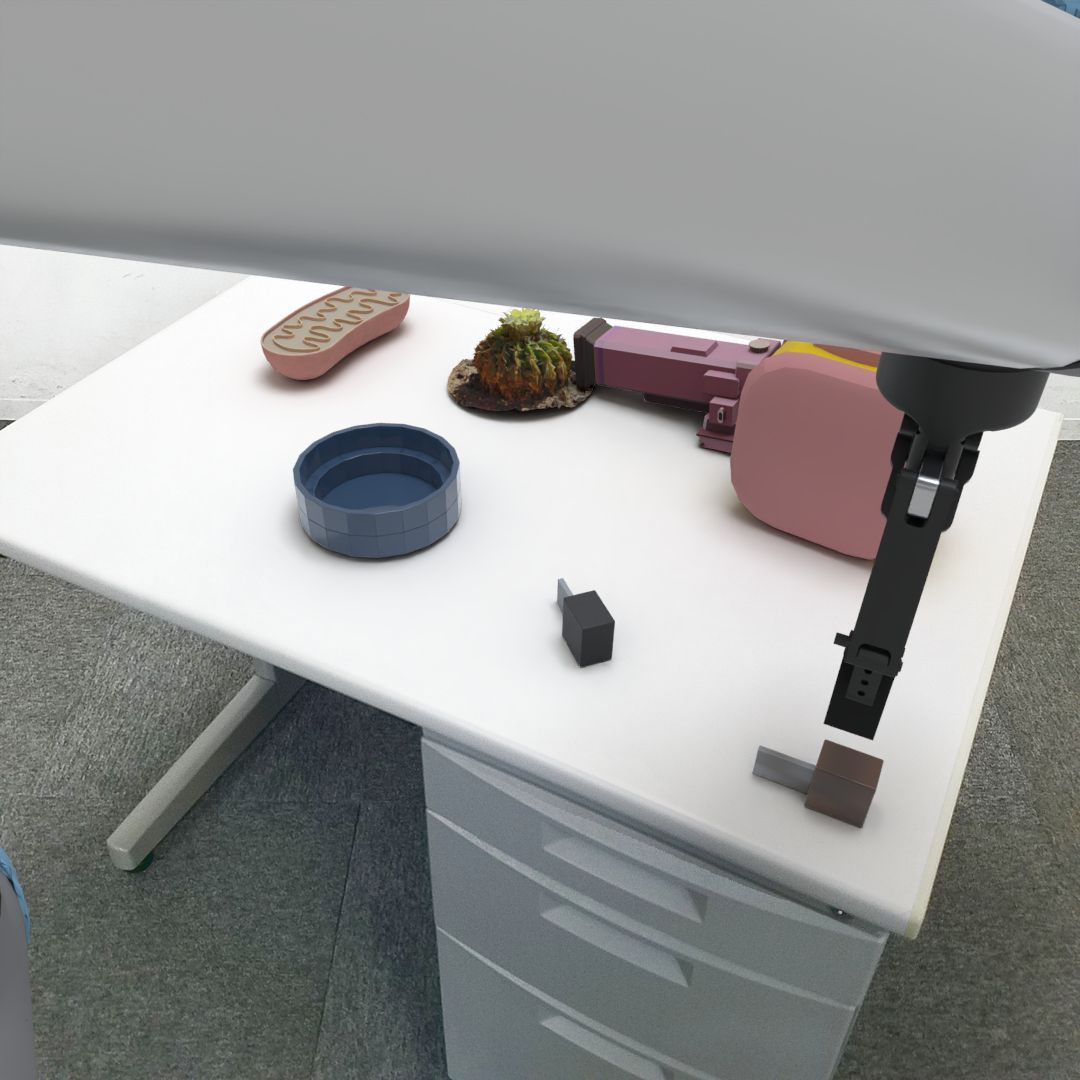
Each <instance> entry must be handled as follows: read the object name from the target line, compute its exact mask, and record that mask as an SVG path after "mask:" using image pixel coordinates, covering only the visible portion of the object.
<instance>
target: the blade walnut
mask: <svg viewBox="0 0 1080 1080" xmlns="http://www.w3.org/2000/svg"><path fill="white" fill-rule="evenodd" d="M884 762H885V761H884V759H883V758H879V757H877V756H874V755H872V754H868V753H866V752H863V751H860V750H857V749H854V748H851V747H849V746H846V745H843V744H840V743H837V742H835V741H831V740H829V739H824V740H823V743H822V745H821V749H820V752H819V755H818V759H817V761H816V765H815V764H812V763H810V762H808V761H804V760H801V759H799V758H796V757H793V756H790V755H788V754H785V753H783V752H780V751H777V750H774V749H771V748H769V747H766V746H763V745H759V746H758V748H757V752H756V755H755V761H754V765H753V769H752V774H753V775H756V776H759V777H761V778H764V779H766V780H769V781H772V782H774V783H777V784H780V785H783V786H784V787H788V788H791V789H793V790H796V791H799V792H801V793H804V794H806V796H805V801H804V804H803V806H804V807H805V808H808V809H810V810H813V811H816V812H818V813H821V814H823V815H826V816H829V817H832V818H833V819H837V820H839V821H842V822H845V823H847V824H849V825H852V826H855V827H857V828H860V829H863V827H864V825H865V822H866V819H867V817H868V814H869V811H870V808H871V805H872V803H873V800H874V798H875V794H876V791H877V789H878V785H879V781H880V777H881V773H882V769H883V766H884Z"/></svg>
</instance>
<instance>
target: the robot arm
mask: <svg viewBox="0 0 1080 1080" xmlns="http://www.w3.org/2000/svg"><path fill="white" fill-rule="evenodd" d="M0 245H1V246H10V247H17V248H25V249H26V248H27V249H34V250H43V251H51V252H59V253H67V254H74V255H75V254H76V255H82V256H83V255H84V256H92V257H99V258H100V257H101V258H108V259H117V260H125V261H131V262H132V261H134V262H139V263H140V262H141V263H150V264H158V265H167V266H175V267H183V268H192V269H199V270H208V271H215V272H223V273H224V272H225V273H231V274H240V275H247V276H256V277H263V278H265V277H266V278H273V279H282V280H290V281H297V282H304V283H305V282H306V283H312V284H313V283H314V284H321V285H329V286H330V285H333V286H337V287H345V286H346V287H354V288H362V289H370V290H379V291H387V292H395V293H403V294H410V295H411V296H422V297H427V298H428V297H429V298H438V299H445V300H454V301H462V302H469V303H478V304H487V305H494V306H502V307H503V306H504V307H510V308H520V309H522V308H523V309H526V308H527V309H531V310H532V309H535V311H536V310H539V311H544V312H553V313H561V314H568V315H577V316H583V317H584V316H585V317H593V318H603V319H610V320H617V321H627V322H634V323H643V324H652V325H658V326H659V325H660V326H666V327H667V326H668V327H675V328H684V329H693V330H701V331H707V332H717V333H725V334H733V335H741V336H749V337H758V338H764V339H772V340H781V341H783V340H790V341H798V342H806V343H814V344H823V345H831V346H839V347H847V348H856V349H864V350H872V351H880V352H881V356H880V360H879V364H878V368H877V372H876V383H877V386H878V389H879V391H880V392H881V394H882V395H883V397H884V398H885V399H886V400H887V401H888V402H889V403H890V404H891V405H893V406H894V407H895V408H896V409H898V410H899V411H903V412H904V417H903V420H902V423H901V427H900V431H899V432H898V434H897V437H896V440H895V443H894V446H893V450H892V453H891V458H890V464H891V467H892V471H891V474H890V478H889V481H888V484H887V487H886V491H885V494H884V497H883V500H882V504H881V514H882V516H883V517H884V518H885V519H886V521H887V522H886V525H885V528H884V532H883V535H882V538H881V542H880V545H879V548H878V552H877V555H876V558H875V559H874V562H873V565H872V568H871V571H870V574H869V578H868V582H867V585H866V588H865V592H864V595H863V598H862V602H861V605H860V608H859V611H858V614H857V618H856V621H855V625H854V628H853V629H850V631H849V634H848V635H847V634H844V633H840V632H836V633H835V637H834V640H833V644H834V645H836V646H839V647H842V648H844V650H843V654H842V659H841V662H840V666H839V669H838V673H837V676H836V679H835V683H834V687H833V690H832V693H831V696H830V700H829V703H828V706H827V710H826V713H825V717H824V719H823V720H824V721H823V725H826V726H829V727H831V728H834V729H838V730H840V731H843V732H846V733H849V734H852V735H855V736H858V737H860V738H864V739H866V740H869V741H874V739H875V736H876V733H877V730H878V728H879V724H880V723H881V722H880V721H881V720H882V715H883V713H884V710H885V708H886V704H887V701H888V698H889V696H890V692H891V690H892V687H893V685H894V681H895V679H896V677H898V675H899V673H901V672H902V668H903V665H904V661H903V658H904V656H905V652H906V645H907V642H908V639H909V636H910V633H911V630H912V627H913V623H914V621H915V618H916V614H917V611H918V607H919V605H920V601H921V598H922V595H923V592H924V588H925V586H926V583H927V580H928V576H929V573H930V570H931V566H932V565H933V564H932V563H933V560H934V557H935V555H936V551H937V548H938V544H939V541H940V539H941V535H942V533H946V532H947V531H948V530H949V529H950V528H951V527H952V525H953V524H954V523H953V522H954V519H955V516H956V513H957V510H958V506H959V503H960V499H961V497H962V493H963V490H964V487H965V485H967V484H968V483H969V482H970V481H971V480H972V478H973V475H974V473H975V470H976V467H977V464H978V459H979V457H980V452H981V450H979V447H980V445H981V442H982V439H983V436H984V432H985V433H986V432H999V431H1004V430H1008V429H1011V428H1015V427H1017V426H1019V425H1022V424H1023V423H1024V422H1026V421H1027V420H1028V419H1030V418H1031V417H1032V416H1033V415H1034V414H1035V412H1036V410H1037V409H1038V406H1039V403H1040V401H1041V398H1042V396H1043V393H1044V390H1045V388H1046V385H1047V383H1048V380H1049V377H1050V375H1051V374H1055V375H1056V374H1057V375H1062V376H1067V377H1073V378H1074V377H1076V378H1080V0H0ZM905 462H906V466H905V468H904V465H905ZM954 475H955V476H954ZM953 477H954V479H953ZM30 920H31V919H30V912H29V907H28V903H27V900H26V896H25V893H24V890H23V888H22V886H21V884H20V882H19V879H18V874H17V872H16V869H15V867H14V865H13V863H12V861H11V859H10V858H9V855H8V854H7V852H6V851H5V850H4V849H3V847H1V845H0V1080H39V1079H38V1067H37V1066H38V1065H37V1054H36V1041H35V1028H34V1027H35V1026H34V1015H33V1000H32V988H31V974H30V961H29V945H30V942H31V921H30Z"/></svg>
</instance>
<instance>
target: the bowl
mask: <svg viewBox="0 0 1080 1080" xmlns="http://www.w3.org/2000/svg"><path fill="white" fill-rule="evenodd" d="M292 474H293V475H292V476H293V484H294V490H295V495H296V501H297V507H298V513H299V519H300V524H301V527H302V529H303V530H304V532H305V533H306V534H307V535H308V537H309V538H310V540H311V541H313V542H315V543H316V544H318V545H320V546H322V547H323V548H325V549H327V550H328V551H331V552H334V553H338V554H342V555H345V556H350V557H352V558H353V557H354V558H372V559H381V558H386V557H387V558H388V557H395V556H402V555H406V554H410V553H412V552H415V551H418V550H420V549H423V548H426V547H429V546H430V545H432V544H433V543H435V542H436V541H438V540H439V539H441V538H442V537H444V536H446V535H447V534H448V533H449V532H450V531H451V529H452V528H453V526H454V525H455V524H456V522H457V521H458V520H459V518H460V513H461V508H462V485H461V461H460V459H459V455H458V453H457V451H456V448H455V447H454V446H453V445H452V444H451V443H449V442H448V440H447V439H445V437H443V436H442V435H439V434H437V433H435V432H433V431H432V430H429V429H427V428H424V427H420V426H416V425H410V424H406V423H395V422H375V423H374V422H373V423H367V424H366V423H365V424H358V425H352V426H349V427H346V428H343V429H339V430H336V431H332V432H330V433H328V434H326V435H324V436H323V437H321V438H318V439H316V440H315V441H313V442H311V444H310V445H308V446H307V448H305V449H304V450H303V451H301V453H300V454H299V455H298V458H297V459H296V461H295V463H294V465H293V468H292Z"/></svg>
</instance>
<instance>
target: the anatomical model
mask: <svg viewBox="0 0 1080 1080" xmlns="http://www.w3.org/2000/svg"><path fill="white" fill-rule="evenodd" d="M410 302H411V294H403V293H395V292H387V291H379V290H370V289H362V288H354V287H346V286H342V287H340V288H338V289H336V290H333V291H331V292H329V293H327V294H324V295H322V296H320V297H318V298H316V299H313V300H311V301H309V302H308V303H306V304H304V305H302V306H301V307H299V308H296V310H294V311H292V312H291V313H289V314H287V315H286V316H284V317H283V318H282V319H280V320H279V321H278V322H276V323H275V324H273V325H272V326H270V328H268V329H267V330H266V331H265V332H264V333H263V334H262V335H261V337H260V341H259V342H260V346H261V350H262V353H263V355H264V357H265V359H266V361H267V362H268V364H269V365H270V366H271V367H272V368H273V369H274V370H275V371H276V372H278V373H279V374H281V375H283V376H284V377H285V378H289V379H292V380H293V379H294V380H298V381H308V380H313V379H316V378H319V377H321V376H323V375H324V374H326V373H327V372H328V371H329V370H330V369H332V368H333V367H334V366H336V364H338V363H339V362H340V361H341V360H342V359H343V358H345V357H346V356H348V355H349V354H351V353H352V352H354V351H356V350H357V349H358V348H361V346H363V345H365V344H368V343H369V342H371V341H372V340H376V339H378V338H379V337H381V336H384V334H388V333H389V332H392V330H395V329H396V328H397V327H399V326H400V325H401V324H402V323H403V321H404V320H405V318H406V317H407V315H408V312H409V310H410V309H409V308H410V304H411V303H410Z"/></svg>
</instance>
